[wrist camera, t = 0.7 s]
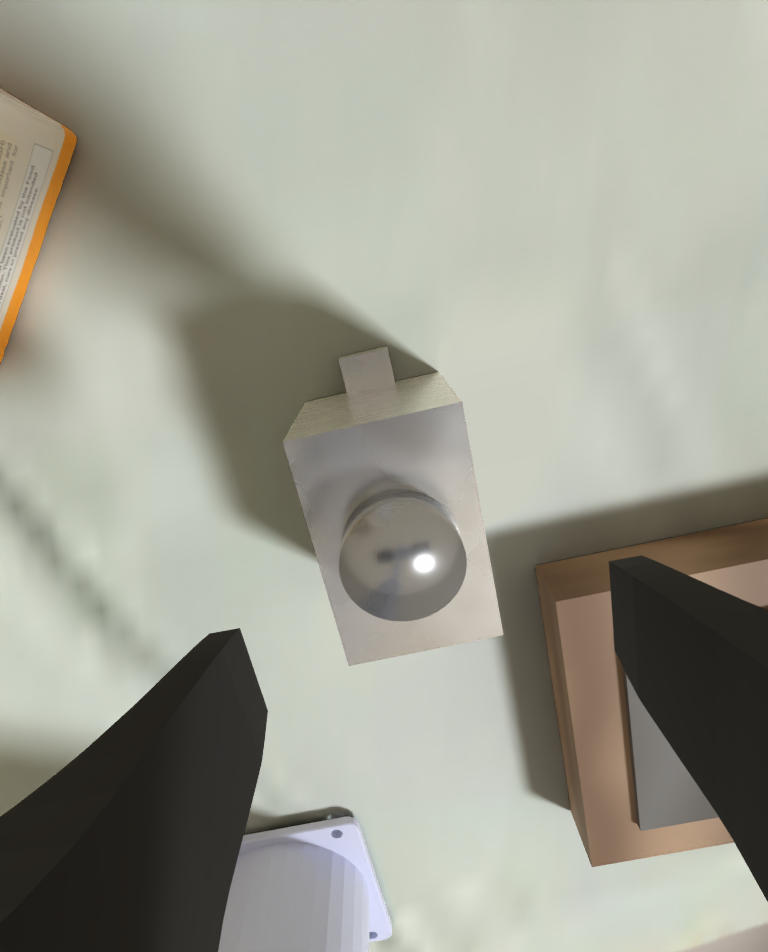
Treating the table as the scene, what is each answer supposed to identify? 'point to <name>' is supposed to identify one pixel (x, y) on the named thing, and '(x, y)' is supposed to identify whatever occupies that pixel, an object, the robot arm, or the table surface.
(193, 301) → the table surface
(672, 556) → the stand
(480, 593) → the housing
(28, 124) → the supplement box
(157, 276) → the table surface
